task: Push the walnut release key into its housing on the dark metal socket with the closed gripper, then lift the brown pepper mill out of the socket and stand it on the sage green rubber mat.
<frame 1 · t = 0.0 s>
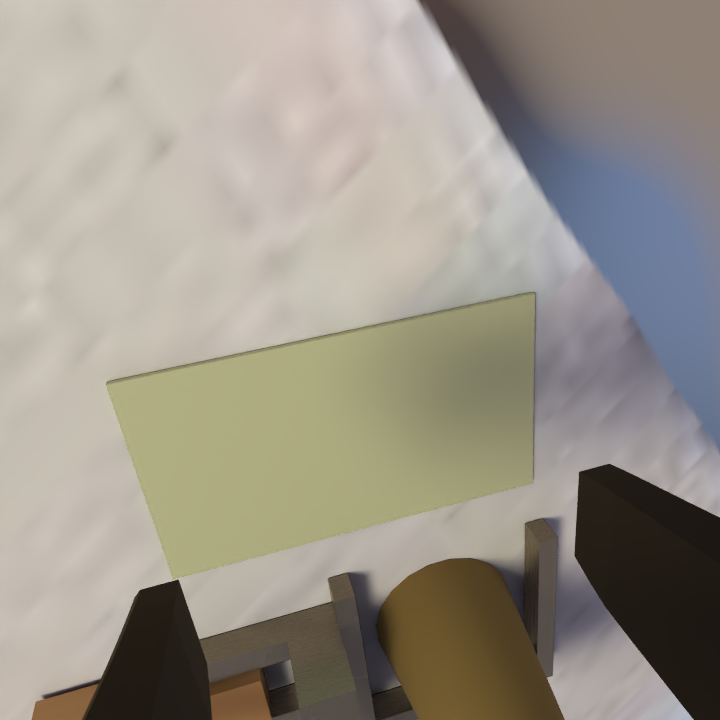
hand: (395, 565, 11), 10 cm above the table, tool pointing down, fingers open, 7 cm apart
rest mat: (347, 437, 22), on the table
brown pepper mill: (441, 609, 27), on the table
socket: (443, 613, 27), on the table
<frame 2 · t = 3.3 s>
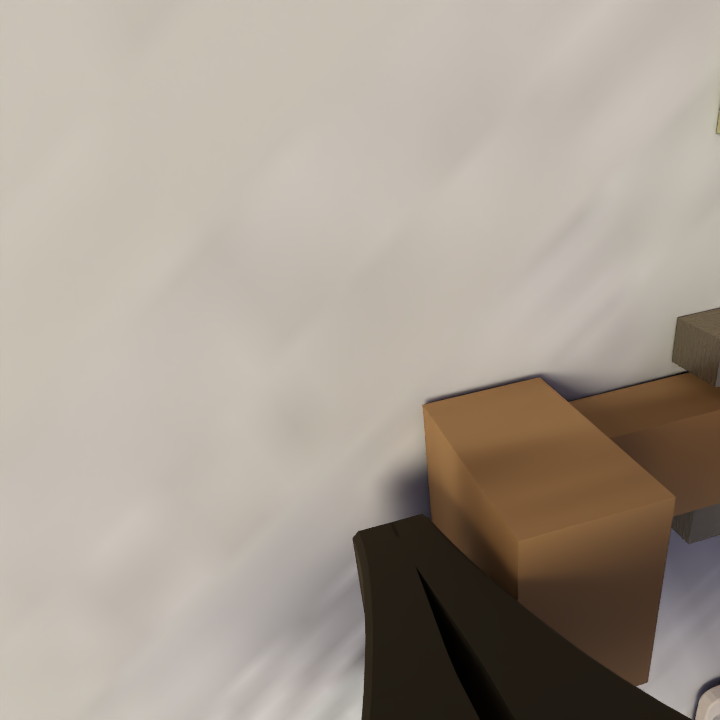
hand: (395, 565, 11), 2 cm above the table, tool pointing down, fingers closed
release key: (667, 495, 12), point 2 cm above the table, slide at 0.2 cm, touching gripper
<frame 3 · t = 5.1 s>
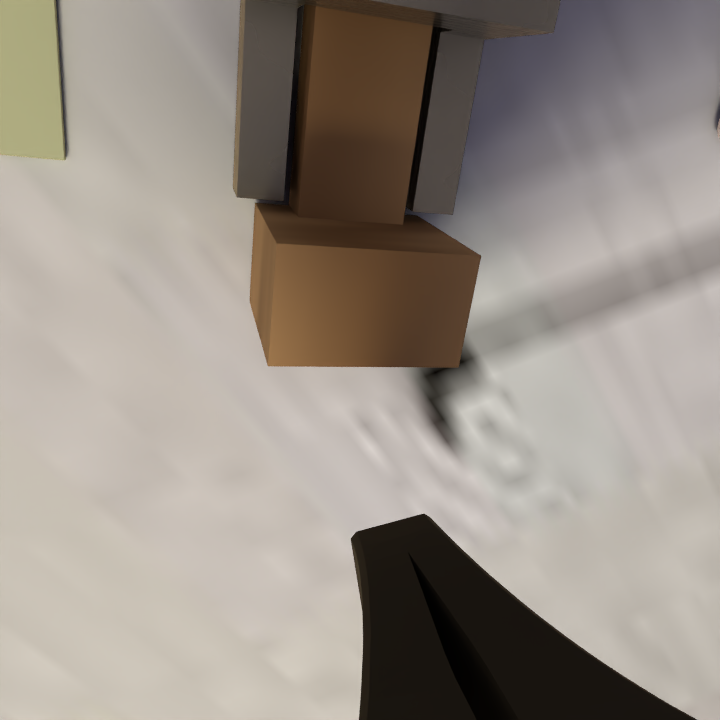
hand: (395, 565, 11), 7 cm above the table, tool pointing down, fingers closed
release key: (367, 145, 13), point 2 cm above the table, slide at 3.0 cm
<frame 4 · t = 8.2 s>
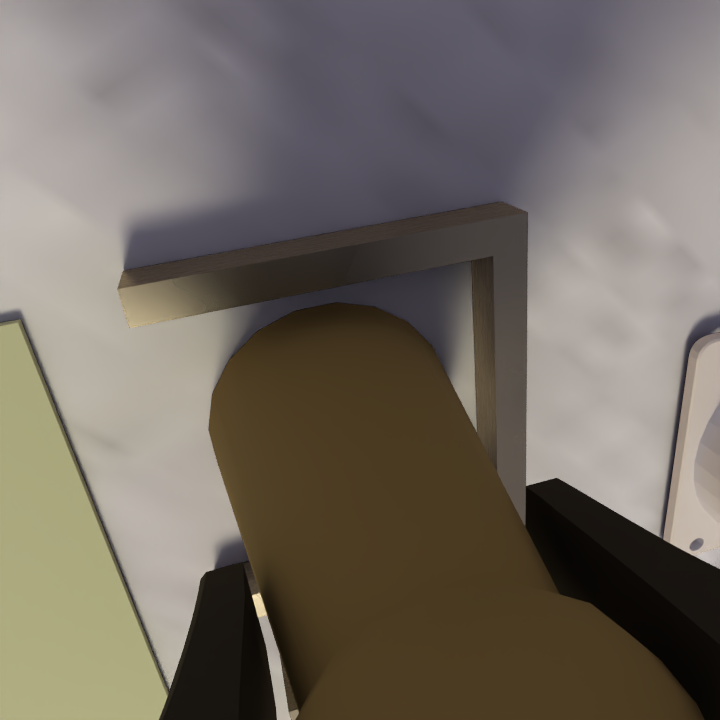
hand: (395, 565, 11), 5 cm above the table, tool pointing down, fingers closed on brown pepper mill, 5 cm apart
brown pepper mill: (331, 413, 16), on the table, touching gripper
socket: (333, 417, 15), on the table
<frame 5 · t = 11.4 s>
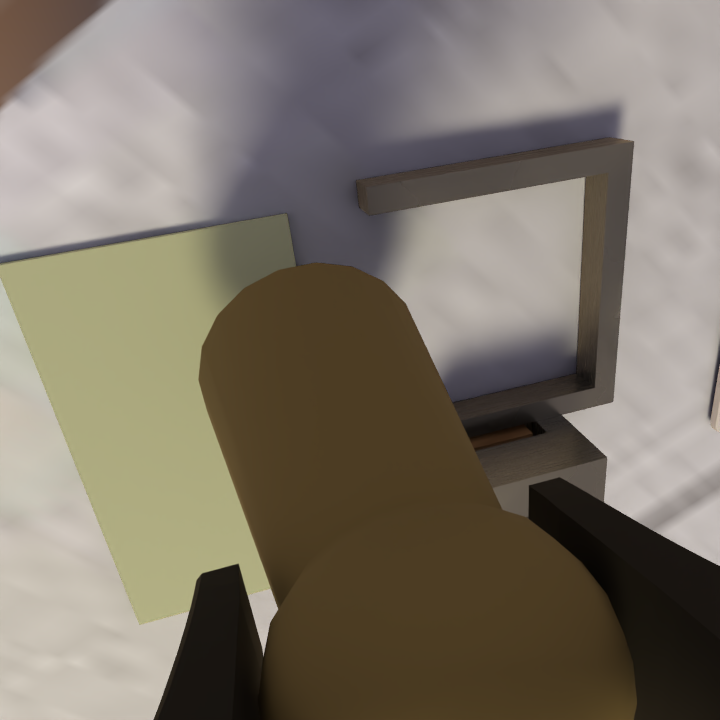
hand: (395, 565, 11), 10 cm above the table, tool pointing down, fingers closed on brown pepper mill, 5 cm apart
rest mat: (204, 441, 21), on the table
brown pepper mill: (312, 366, 17), point 3 cm above the table, touching gripper
socket: (479, 299, 21), on the table
release key: (509, 538, 23), point 2 cm above the table, slide at 3.0 cm
when the fingers open (7 cm above the table, at t = 14.6 s): brown pepper mill stays where it is, resting on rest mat.
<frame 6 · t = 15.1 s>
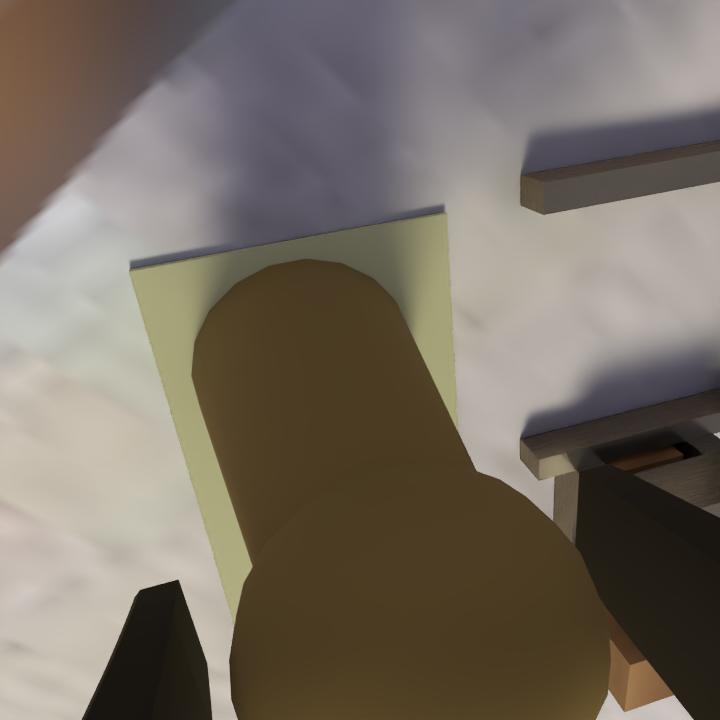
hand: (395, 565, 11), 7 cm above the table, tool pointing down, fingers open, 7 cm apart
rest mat: (331, 465, 19), on the table
brown pepper mill: (304, 363, 17), resting on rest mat
socket: (634, 307, 19), on the table
release key: (650, 568, 21), point 2 cm above the table, slide at 3.0 cm
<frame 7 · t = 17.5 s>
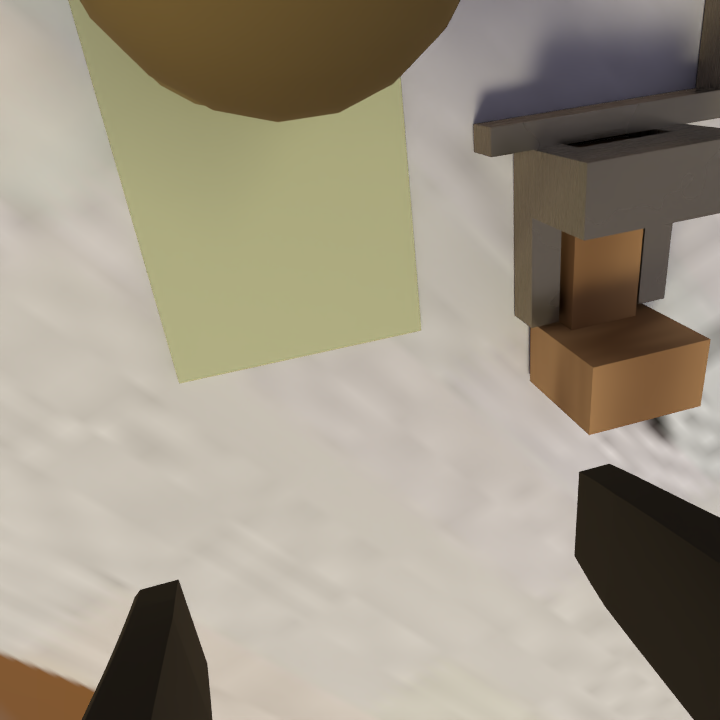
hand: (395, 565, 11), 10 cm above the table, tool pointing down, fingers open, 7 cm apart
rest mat: (262, 127, 17), on the table
release key: (617, 281, 20), point 2 cm above the table, slide at 3.0 cm
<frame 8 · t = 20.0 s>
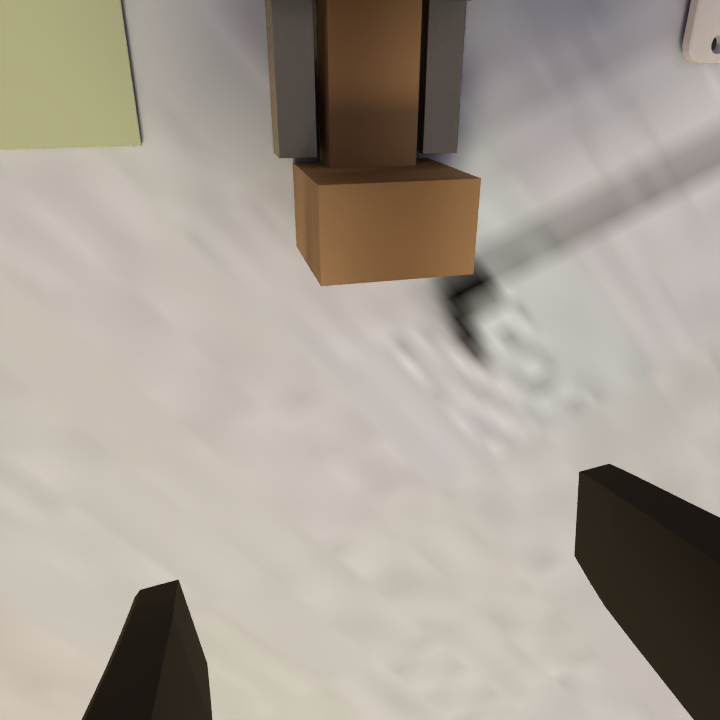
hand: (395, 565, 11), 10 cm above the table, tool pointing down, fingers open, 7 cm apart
release key: (380, 101, 16), point 2 cm above the table, slide at 3.0 cm
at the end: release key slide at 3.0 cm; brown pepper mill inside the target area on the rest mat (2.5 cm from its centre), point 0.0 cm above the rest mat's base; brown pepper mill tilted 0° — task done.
